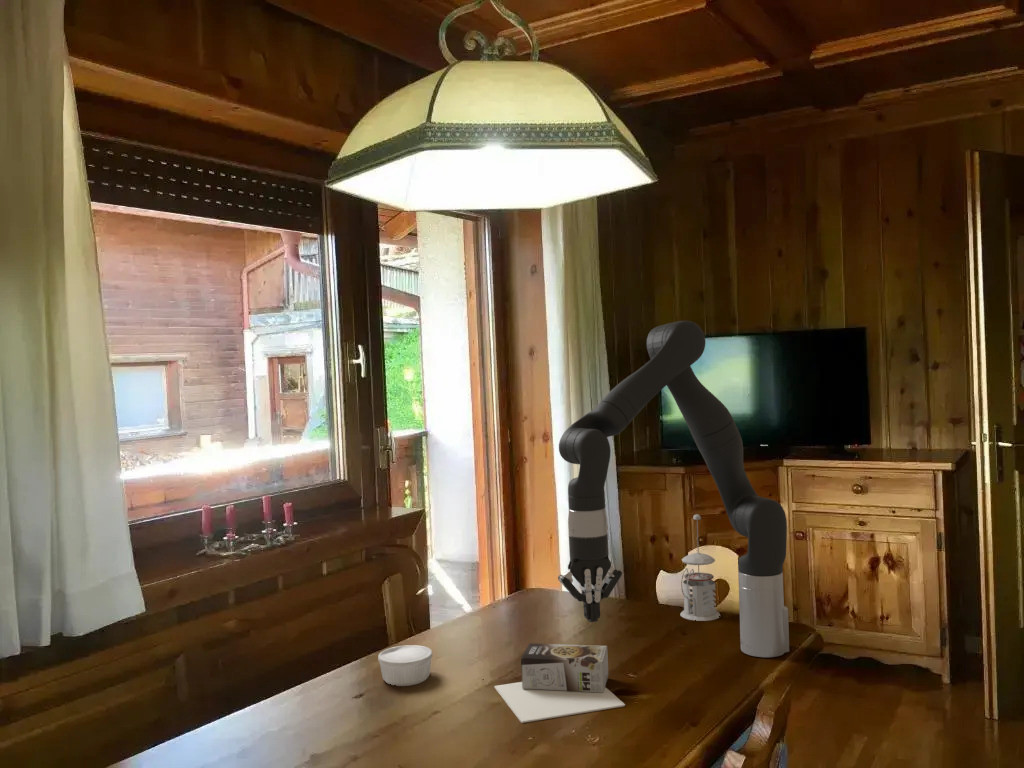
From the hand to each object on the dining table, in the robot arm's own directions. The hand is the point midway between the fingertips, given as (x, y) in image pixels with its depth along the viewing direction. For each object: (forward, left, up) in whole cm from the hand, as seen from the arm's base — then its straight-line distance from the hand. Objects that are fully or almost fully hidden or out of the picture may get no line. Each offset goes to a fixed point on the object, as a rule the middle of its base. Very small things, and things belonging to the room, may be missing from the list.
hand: (592, 620), depth 165 cm
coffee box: (-3, -1, -10) cm, 11 cm away
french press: (-42, -35, -14) cm, 56 cm away
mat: (+8, 0, -14) cm, 16 cm away
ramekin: (+33, -21, -14) cm, 42 cm away
